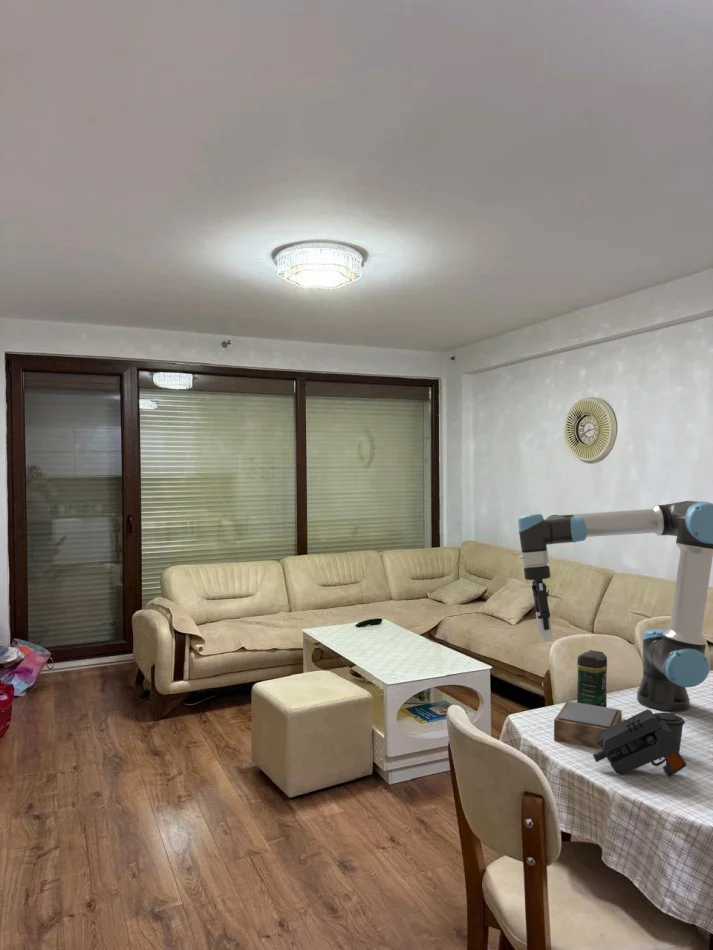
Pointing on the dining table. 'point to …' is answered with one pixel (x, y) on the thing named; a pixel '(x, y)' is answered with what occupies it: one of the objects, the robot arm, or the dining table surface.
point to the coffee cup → (673, 725)
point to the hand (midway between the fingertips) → (545, 637)
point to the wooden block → (584, 723)
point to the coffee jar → (592, 678)
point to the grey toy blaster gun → (640, 744)
